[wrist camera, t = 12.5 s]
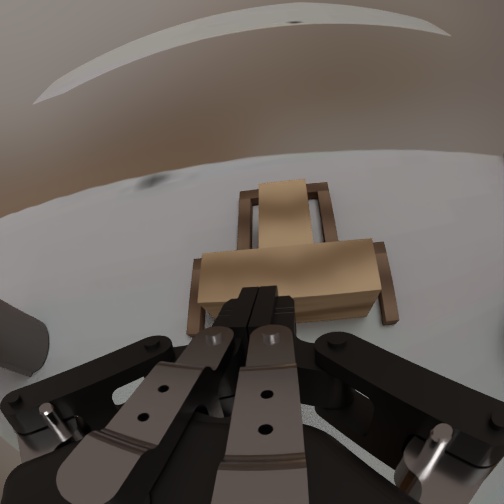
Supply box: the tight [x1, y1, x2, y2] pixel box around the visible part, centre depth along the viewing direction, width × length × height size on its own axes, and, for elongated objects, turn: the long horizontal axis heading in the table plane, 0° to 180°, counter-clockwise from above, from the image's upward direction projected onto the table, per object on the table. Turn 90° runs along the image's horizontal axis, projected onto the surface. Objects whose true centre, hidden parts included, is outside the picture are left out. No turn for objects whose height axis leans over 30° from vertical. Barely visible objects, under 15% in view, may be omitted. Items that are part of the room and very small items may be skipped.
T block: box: [197, 179, 382, 323], centre depth 30 cm, size 13×16×8 cm
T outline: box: [186, 182, 399, 337], centre depth 34 cm, size 20×23×2 cm
